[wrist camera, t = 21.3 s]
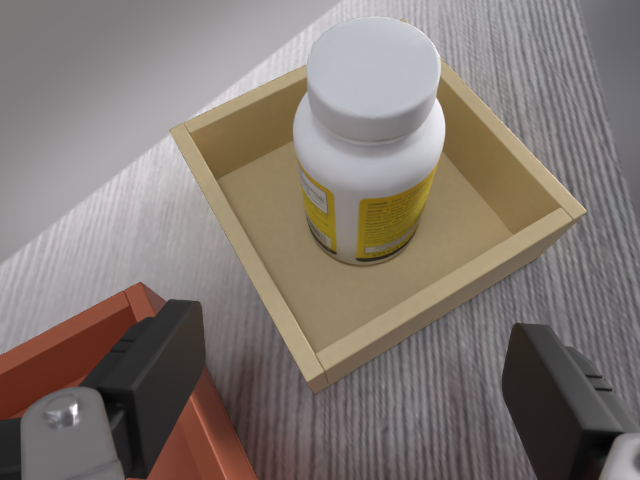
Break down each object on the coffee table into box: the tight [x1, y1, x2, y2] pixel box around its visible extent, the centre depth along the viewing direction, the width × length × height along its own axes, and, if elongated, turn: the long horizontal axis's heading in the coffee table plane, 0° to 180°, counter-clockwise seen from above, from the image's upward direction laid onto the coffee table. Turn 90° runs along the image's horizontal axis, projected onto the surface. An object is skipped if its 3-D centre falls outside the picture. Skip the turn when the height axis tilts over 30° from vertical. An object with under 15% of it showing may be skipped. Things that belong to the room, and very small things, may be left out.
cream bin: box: [169, 19, 587, 394], centre depth 21 cm, size 12×12×5 cm
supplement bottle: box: [293, 16, 445, 265], centre depth 18 cm, size 5×5×10 cm
